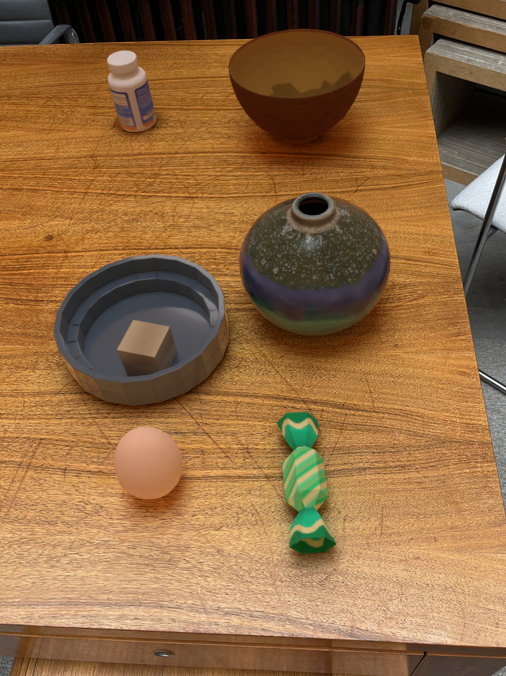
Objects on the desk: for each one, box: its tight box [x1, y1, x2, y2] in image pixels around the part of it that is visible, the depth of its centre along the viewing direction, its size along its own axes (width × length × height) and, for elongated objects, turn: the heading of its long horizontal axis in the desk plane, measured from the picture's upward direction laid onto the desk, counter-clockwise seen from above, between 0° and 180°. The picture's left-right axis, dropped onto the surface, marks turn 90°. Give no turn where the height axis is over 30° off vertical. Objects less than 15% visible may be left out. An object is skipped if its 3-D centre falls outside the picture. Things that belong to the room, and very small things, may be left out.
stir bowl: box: [53, 253, 230, 406], centre depth 66 cm, size 17×17×4 cm
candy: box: [276, 411, 337, 555], centre depth 55 cm, size 12×3×4 cm
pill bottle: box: [106, 50, 157, 133], centre depth 90 cm, size 5×5×10 cm
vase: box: [238, 191, 391, 337], centre depth 64 cm, size 15×15×13 cm
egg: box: [112, 426, 184, 500], centre depth 55 cm, size 6×6×8 cm
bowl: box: [227, 28, 366, 145], centre depth 86 cm, size 18×18×10 cm
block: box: [117, 320, 177, 376], centre depth 64 cm, size 4×4×4 cm
